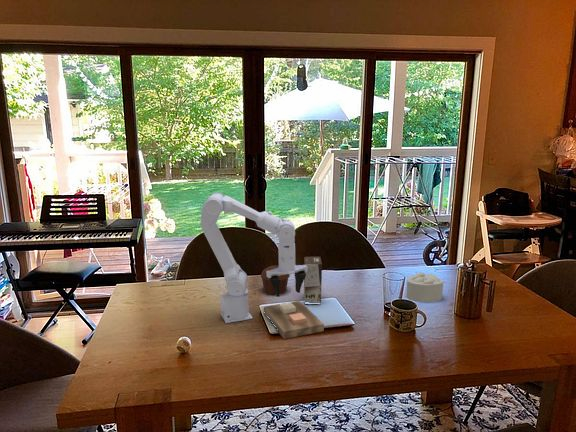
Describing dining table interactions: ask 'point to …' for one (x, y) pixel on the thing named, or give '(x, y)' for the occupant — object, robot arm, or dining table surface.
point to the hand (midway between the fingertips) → (287, 293)
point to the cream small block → (287, 308)
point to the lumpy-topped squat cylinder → (424, 288)
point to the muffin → (268, 284)
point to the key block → (287, 327)
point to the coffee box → (313, 280)
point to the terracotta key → (297, 318)
